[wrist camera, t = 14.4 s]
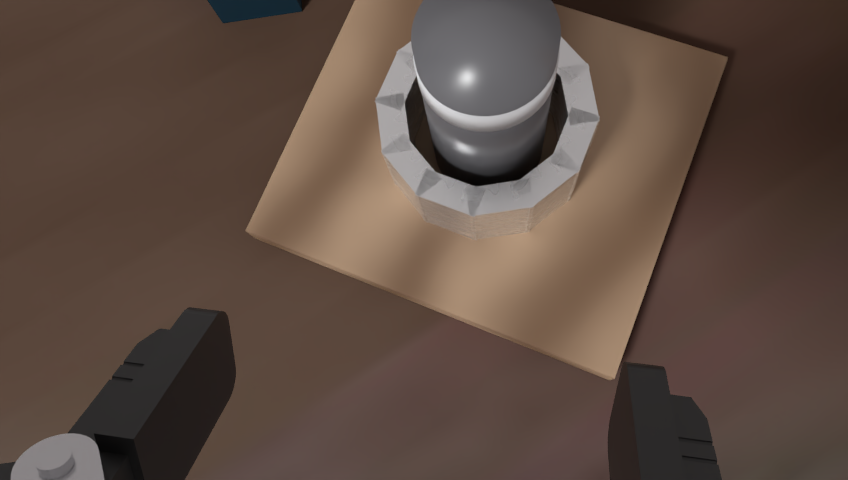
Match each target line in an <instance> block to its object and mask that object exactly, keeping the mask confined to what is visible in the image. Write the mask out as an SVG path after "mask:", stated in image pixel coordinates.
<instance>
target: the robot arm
mask: <svg viewBox="0 0 848 480" xmlns="http://www.w3.org/2000/svg"><path fill="white" fill-rule="evenodd" d="M235 377H236V367H235V360H234V353H233V346H232V339H231V333H230V326H229V320H228V316H227V314H226V313H225V312H223V311H215V310H207V309H199V308H187V309H186V310H185V311H184V312H183V313H182V314H181V316H180V317H179V318H178V320H177V321H176V322H175V324H174V325H173V326H172V328H171V329H170V330H167V329H159V330H157V331H156V332H154V333H153V334H151V335H150V336H148V337H147V338H145V339H144V340H142V341H141V342H139V343H138V344H137V345H136V346H135V348H134V349H133V350H132V352H131V353H130V354H129V355H128V357H127V358H126V359H125V361H124V364H123V365H121V366H120V367H119V368H118V369H117V371H116V372H115V373H114V375H113V376H112V380H109V381H108V382H107V384H106V385H105V386H104V387H103V389H102V390H101V391H100V393H99V394H98V395H97V396H96V398H95V399H94V400H93V401H92V403H91V404H90V405H89V407H88V408H87V409H86V410H85V412H84V413H83V414H82V416H81V417H80V418H79V419H78V421H77V422H76V423H75V425H74V426H73V427H72V428H71V430H70V431H69V432H68V433H67V434H60V435H56V436H52V437H50V438H47V439H44V440H42V441H40V442H38V443H36V444H35V445H33V446H32V447H30V448H29V449H28V450H26V451H25V452H24V453H23V454H22V455H21V456H20V457H19V459H18V460H17V461H16V462H12V463H4V464H0V480H185V478H186V476H187V475H188V473H189V471H190V469H191V467H192V466H193V464H194V462H195V460H196V458H197V456H198V455H199V453H200V451H201V449H202V447H203V446H204V444H205V442H206V440H207V438H208V437H209V435H210V433H211V431H212V429H213V428H214V426H215V424H216V422H217V420H218V419H219V417H220V415H221V413H222V411H223V410H224V408H225V406H226V404H227V402H228V401H229V399H230V397H231V394H232V391H233V388H234V384H235ZM712 442H713V441H712V437H711V433H710V429H709V425H708V421H707V418H706V417H705V415H704V414H703V413H702V411H701V410H700V409H699V407H698V406H697V405H696V404H695V402H694V401H693V400H692V398H691V397H685V396H677V395H670V391H669V386H668V381H667V375H666V371H665V368H664V367H663V366H655V365H646V364H638V363H630V362H624V363H623V365H622V368H621V372H620V377H619V381H618V386H617V390H616V395H615V399H614V404H613V408H612V413H611V417H610V423H609V431H608V459H609V472H610V480H722V478H721V474H720V470H719V466H718V465H717V458H716V454H715V450H714V446H712Z"/></svg>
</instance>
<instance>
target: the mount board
mask: <svg viewBox="0 0 848 480" xmlns="http://www.w3.org/2000/svg"><path fill="white" fill-rule="evenodd" d="M422 2H423V0H355V2H354V4H353V6H352V8H351V10H350V12H349V14H348V16H347V18H346V21H345V23H344V25H343V27H342V29H341V31H340V33H339V35H338V37H337V39H336V42H335V44H334V46H333V48H332V50H331V52H330V54H329V56H328V58H327V61H326V63H325V65H324V67H323V69H322V71H321V73H320V75H319V77H318V79H317V82H316V84H315V86H314V88H313V90H312V92H311V94H310V96H309V98H308V100H307V103H306V105H305V107H304V109H303V111H302V113H301V115H300V117H299V119H298V121H297V124H296V126H295V128H294V130H293V132H292V134H291V136H290V138H289V140H288V142H287V145H286V147H285V149H284V151H283V153H282V155H281V157H280V159H279V161H278V163H277V166H276V168H275V170H274V172H273V174H272V176H271V178H270V180H269V182H268V185H267V187H266V189H265V191H264V193H263V195H262V197H261V199H260V201H259V203H258V206H257V208H256V210H255V212H254V214H253V216H252V218H251V220H250V222H249V224H248V227H247V229H246V232H248V233H249V234H250V235H252V236H253V237H254V238H256V239H258V240H260V241H263V242H265V243H268V244H270V245H273V246H275V247H278V248H280V249H283V250H285V251H288V252H290V253H293V254H295V255H298V256H300V257H303V258H305V259H308V260H310V261H313V262H315V263H318V264H320V265H323V266H325V267H328V268H330V269H333V270H335V271H338V272H340V273H343V274H345V275H348V276H350V277H353V278H355V279H358V280H360V281H363V282H365V283H368V284H370V285H373V286H375V287H378V288H380V289H383V290H385V291H388V292H390V293H393V294H395V295H398V296H400V297H403V298H405V299H408V300H410V301H413V302H415V303H418V304H420V305H423V306H425V307H428V308H430V309H433V310H435V311H438V312H440V313H443V314H445V315H448V316H450V317H453V318H455V319H458V320H460V321H463V322H465V323H467V324H470V325H472V326H475V327H477V328H480V329H482V330H485V331H487V332H490V333H492V334H495V335H497V336H500V337H502V338H505V339H507V340H510V341H512V342H515V343H517V344H520V345H522V346H525V347H527V348H530V349H532V350H535V351H537V352H540V353H542V354H545V355H547V356H550V357H552V358H555V359H557V360H560V361H562V362H565V363H567V364H570V365H572V366H575V367H577V368H580V369H582V370H585V371H587V372H590V373H592V374H595V375H597V376H600V377H602V378H605V379H607V380H612V379H615V376H616V373H617V370H618V368H619V365H620V362H621V359H622V356H623V353H624V351H625V348H626V345H627V342H628V339H629V337H630V334H631V331H632V328H633V325H634V322H635V320H636V317H637V314H638V311H639V308H640V305H641V303H642V300H643V297H644V294H645V291H646V288H647V286H648V283H649V280H650V277H651V274H652V272H653V269H654V266H655V263H656V260H657V257H658V255H659V252H660V249H661V246H662V243H663V240H664V238H665V235H666V232H667V229H668V226H669V223H670V221H671V218H672V215H673V212H674V209H675V206H676V204H677V201H678V198H679V195H680V192H681V190H682V187H683V184H684V181H685V178H686V175H687V173H688V170H689V167H690V164H691V161H692V158H693V156H694V153H695V150H696V147H697V144H698V141H699V139H700V136H701V133H702V130H703V127H704V125H705V122H706V119H707V116H708V113H709V110H710V108H711V105H712V102H713V99H714V96H715V93H716V91H717V88H718V85H719V82H720V79H721V76H722V74H723V71H724V68H725V65H726V62H727V59H728V57H726V56H723V55H720V54H716V53H713V52H710V51H707V50H703V49H700V48H697V47H694V46H690V45H687V44H684V43H681V42H678V41H674V40H671V39H668V38H665V37H661V36H658V35H655V34H652V33H648V32H645V31H642V30H639V29H635V28H632V27H629V26H626V25H623V24H619V23H616V22H613V21H610V20H606V19H603V18H600V17H597V16H593V15H590V14H587V13H584V12H580V11H577V10H574V9H571V8H568V7H564V6H561V5H558V4H555V3H553V4H554V6H555V8H556V10H557V13H558V16H559V19H560V26H561V37H562V38H563V39H564V40H565V41H566V42H567V43H568V44H569V45H570V46H571V48H572V49H573V50H574V51H575V52H576V53H577V54H578V55H579V56H580V57H581V58H582V59H583V60H584V61H585V62H586V63H588V65H589V67H590V68H589V71H590V76H591V81H592V86H593V91H594V95H595V100H596V105H597V110H598V115H599V116H600V118H599V120H600V121H599V124H598V127H597V129H596V132H595V135H594V138H593V141H592V143H591V146H590V149H589V152H588V155H586V157H585V159H584V162H583V165H582V167H581V170H580V173H579V176H578V179H577V182H576V184H575V187H574V190H573V193H572V196H571V199H570V200H569V201H568V202H566V203H564V204H563V205H562V206H561V207H559V208H558V209H557V210H555V211H554V212H553V213H552V214H550V215H549V216H548V217H546V218H545V219H544V220H543V221H541V222H540V223H539V224H537V225H536V226H535V227H534V228H532V229H531V230H530V232H527V233H518V234H512V235H505V236H498V237H491V238H485V239H478V240H477V241H476V240H473V239H471V238H468V237H466V236H463V235H460V234H458V233H455V232H452V231H450V230H447V229H444V228H442V227H439V226H437V225H434V224H431V223H429V222H428V223H427V222H426V221H424V219H423V217H422V216H421V215H420V213H419V212H418V211H417V210H416V208H415V207H414V206H413V205H412V204H411V202H410V201H409V200H408V199H407V197H406V196H405V195H404V194H403V192H402V191H401V190H400V189H399V187H398V186H397V185H395V183H394V181H393V179H392V176H391V174H390V171H389V169H388V167H387V164H386V162H385V160H384V157H383V155H382V153H381V150H382V147H381V139H380V131H379V123H378V115H377V107H376V103H375V100H376V97H377V96H378V93H379V91H380V89H381V87H382V85H383V82H384V80H385V78H386V76H387V74H388V71H389V69H390V67H391V65H392V63H393V60H394V58H395V56H396V52H397V51H398V49H401V48H402V47H404V46H405V45H406V44H408V43H409V42H410V41H411V29H412V24H413V20H414V17H415V15H416V12H417V10H418V8H419V6H420V5H421V3H422ZM557 143H558V139H557V134H556V129H555V123H554V118H553V115H552V114H551V113H550V112H549V113H548V119H547V124H546V130H545V136H544V142H543V148H542V154H541V159H540V163H539V164H541V163H542V162H543V161H545V160H546V159H547V158H549V157H550V156H551V155H552V154H553V153H554V151H555V148H556V146H557ZM415 145H416V149H417V150H418V151H419V153H420V154H421V155H422V156H423V157H424V159H425V160H426V161H427V162H428V164H429V165H430V166H431V167H432V168H433V170H434V171H435V172H437V173H440V174H442V173H441V171H440V169H439V167H438V164H437V161H436V157H435V152H434V148H433V143H432V138H431V134H430V129H429V125H428V120H427V115H426V113H425V115H424V117H423V120H422V122H421V124H420V127H419V129H418V131H417V133H416V136H415Z"/></svg>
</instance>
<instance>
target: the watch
mask: <svg viewBox="0 0 848 480" xmlns="http://www.w3.org/2000/svg"><path fill="white" fill-rule="evenodd" d="M208 2H209V3H210V5H211V6H212V8H213V9H214V11H215V12H216V13H217V15H218V16H219V18H220V19H221V21H222V22H223V23H228V22H234V21H241V20H248V19H254V18H261V17H268V16H274V15H281V14H287V13H294V12H301V11H302V2H301V0H208Z"/></svg>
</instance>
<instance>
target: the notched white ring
mask: <svg viewBox="0 0 848 480" xmlns="http://www.w3.org/2000/svg"><path fill="white" fill-rule="evenodd" d="M589 68H590V67H589V65H588V63H586V62H585V61H584V60H583V59H582V58H581V57H580V56H579V55H578V54H577V53H576V52H575V51H574V50H573V49H572V48H571V46H570V45H569V44H568V43H567V42H566V41H565V40H564V39H563V38H562V37H561V40H560V55H559V62H558V68H557V73H556V79H555V83H554V86H553V89H552V95H551V101H550V107H549V112H550V113H551V114H552V115H553V118H554V123H555V129H556V134H557V139H558V143H557V146H556V148H555V151H554V153H553V154H552V155H551V156H550V157H549V158H547V159H546V160H545V161H543V162H542V163H541V164H539V165H538V166H537V167H536V168H534V169H533V170H532V171H530V172H529V173H528V174H526V175H525V176H524V177H523V178H521V179H520V180H516V181H510V182H503V183H497V184H490V185H484V186H477V187H475V186H473V185H470V184H467V183H464V182H462V181H459V180H456V179H453V178H451V177H448V176H445V175H442V174H440V173H437V172H435V171H434V170H433V168H432V167H431V166H430V165H429V164H428V162H427V161H426V160H425V159H424V157H423V156H422V155H421V154H420V153H419V151H418V150H417V149H416V145H415V136H416V133H417V131H418V129H419V127H420V124H421V122H422V120H423V117H424V115H425V113H426V111H425V106H424V102H423V97H422V93H421V91H420V88H419V85H418V80H417V76H416V71H415V67H414V60H413V51H412V45H411V41H410V42H409V43H408V44H406V45H405V46H404V47H402V48H401V49H398V51H397V52H396V56H395V58H394V60H393V63H392V65H391V67H390V69H389V71H388V74H387V76H386V78H385V80H384V82H383V85H382V87H381V89H380V91H379V93H378V96H377V97H376V100H375V103H376V107H377V115H378V123H379V131H380V139H381V147H382V150H381V153H382V155H383V157H384V160H385V162H386V164H387V167H388V169H389V171H390V174H391V176H392V179H393V181H394V183H395V185H397V186H398V187H399V189H400V190H401V191H402V192H403V194H404V195H405V196H406V197H407V199H408V200H409V201H410V202H411V204H412V205H413V206H414V207H415V208H416V210H417V211H418V212H419V213H420V215H421V216H422V217H423V219H424V221H426V222H427V223H428V222H429V223H431V224H434V225H437V226H439V227H442V228H444V229H447V230H450V231H452V232H455V233H458V234H460V235H463V236H466V237H468V238H471V239H473V240H476V241H477V240H478V239H485V238H491V237H498V236H505V235H512V234H518V233H527V232H530V230H531V229H532V228H534V227H535V226H536V225H537V224H539V223H540V222H541V221H543V220H544V219H545V218H546V217H548V216H549V215H550V214H552V213H553V212H554V211H555V210H557V209H558V208H559V207H561V206H562V205H563V204H564V203H566V202H568V201H569V200H570V199H571V196H572V193H573V190H574V187H575V184H576V182H577V179H578V176H579V173H580V170H581V167H582V165H583V162H584V159H585V157H586V155H588V152H589V149H590V146H591V143H592V141H593V138H594V135H595V132H596V129H597V127H598V124H599V121H600V120H599V118H600V116H599V115H598V110H597V105H596V100H595V95H594V91H593V86H592V81H591V76H590V71H589Z"/></svg>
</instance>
